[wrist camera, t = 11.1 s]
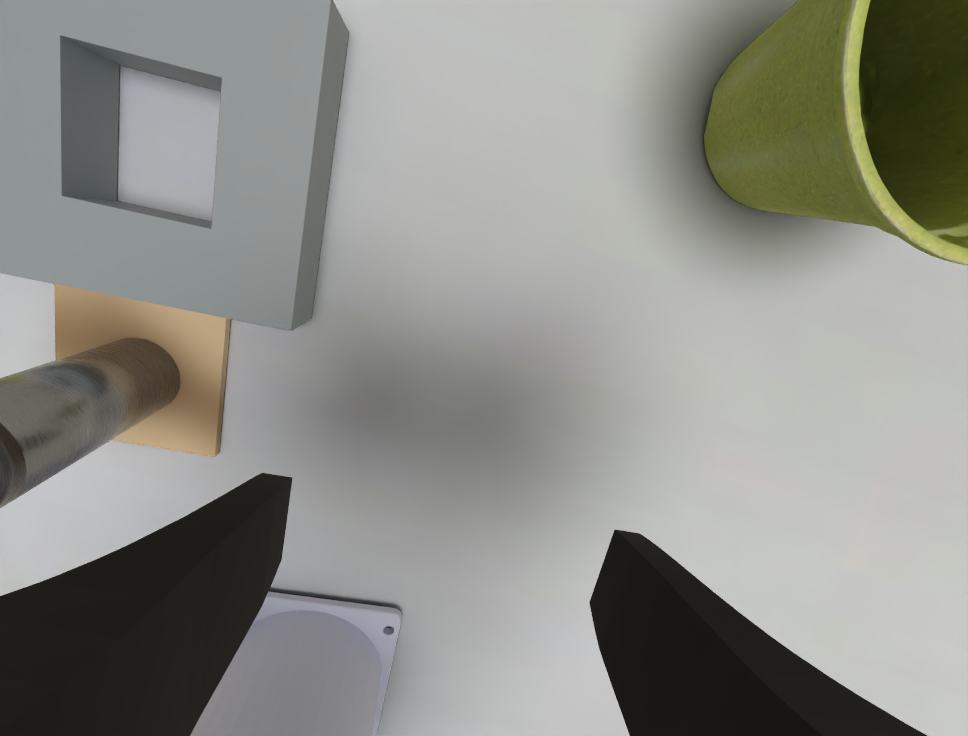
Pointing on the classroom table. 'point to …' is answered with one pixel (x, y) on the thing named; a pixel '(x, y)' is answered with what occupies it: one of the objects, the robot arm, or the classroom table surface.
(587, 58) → the classroom table surface
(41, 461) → the shiny metal cylinder
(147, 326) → the pad
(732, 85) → the plant pot
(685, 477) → the classroom table surface
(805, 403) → the classroom table surface
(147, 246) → the block
